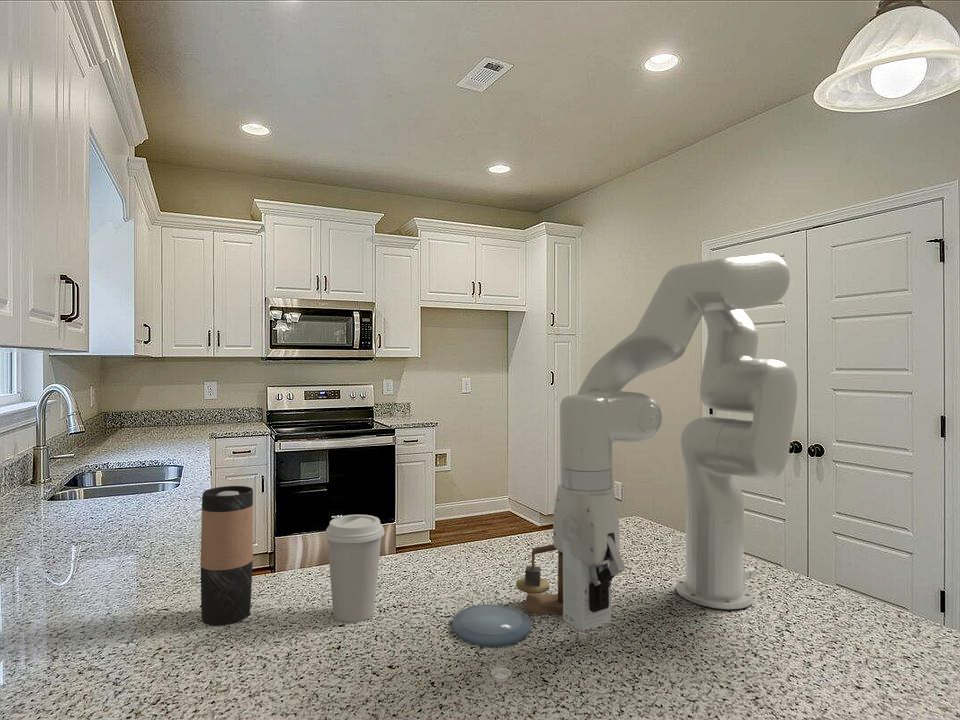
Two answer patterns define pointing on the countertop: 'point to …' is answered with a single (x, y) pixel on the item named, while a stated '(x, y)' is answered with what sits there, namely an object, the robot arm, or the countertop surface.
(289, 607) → the countertop surface
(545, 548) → the balance
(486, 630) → the dish
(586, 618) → the skincare box
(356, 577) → the coffee cup
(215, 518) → the travel mug
